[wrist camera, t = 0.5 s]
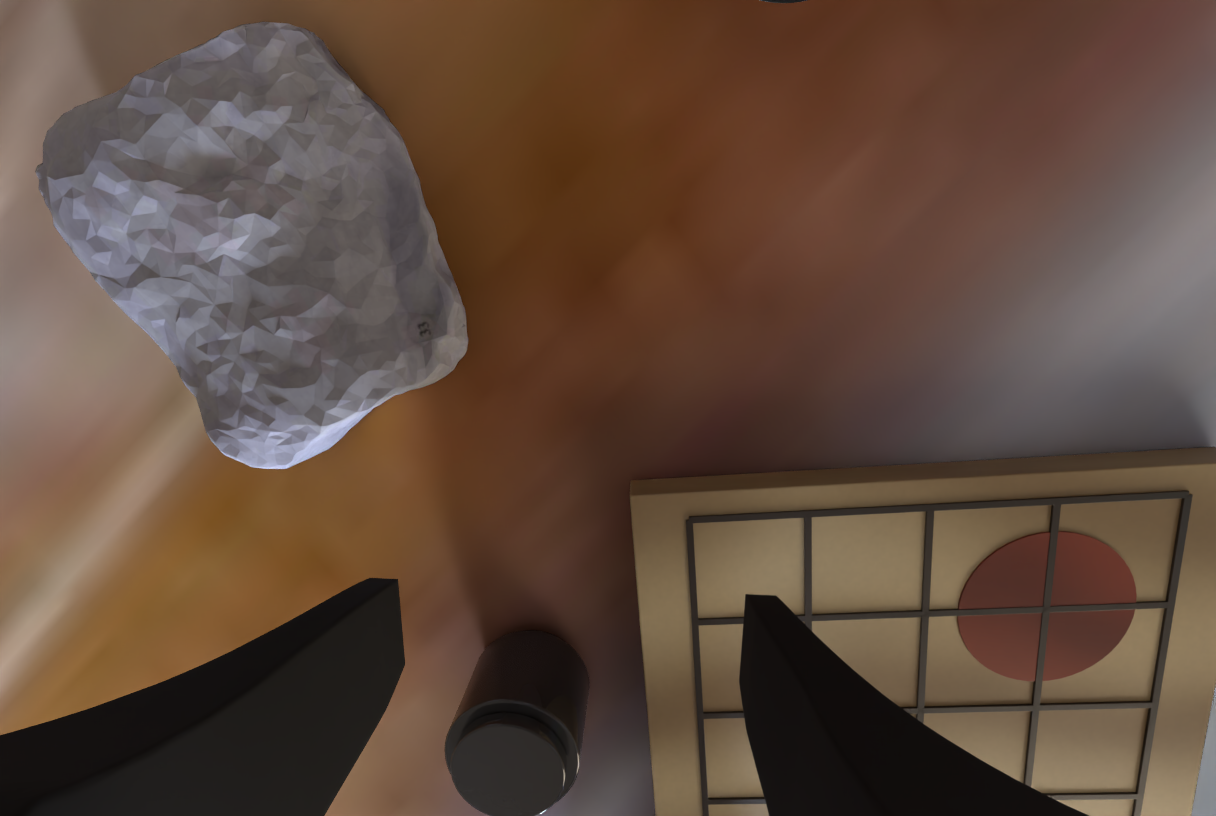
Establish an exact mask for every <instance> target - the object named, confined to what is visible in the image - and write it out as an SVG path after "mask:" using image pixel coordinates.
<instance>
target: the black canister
mask: <svg viewBox="0 0 1216 816" xmlns="http://www.w3.org/2000/svg"><path fill="white" fill-rule="evenodd" d="M589 689H590V680H589V675H588V671H587V668H586V666H585V664H584V662H583V660H582V659H581V657H580V656H579V654H578V653H577V652H576V651H575V650H574V649H573V648H572V647H571V646H570V645H569V644H567V643H566V642H565V641H563V640H562V639H560V638H559V637H557V636H555V635H553V634H550V633H547V632H543V631H537V630H526V631H518V632H513V633H510V634H507V635H504V636H502V637H500V638H498V639H497V640H495V641H494V642H492V643H491V644H490V645H489V646H488V647H487V648H486V649H485V650H484V651H483V653H482V654H481V656H480V658H479V660H478V662H477V664H476V667H475V669H474V672H473V674H472V676H471V679H470V681H469V683H468V686H467V688H466V691H465V693H464V695H463V698H462V700H461V703H460V705H459V707H458V710H457V712H456V714H455V717H454V719H453V722H452V724H451V726H450V729H449V731H448V734H447V736H446V741H445V759H446V763H447V767H448V769H449V772H450V774H451V776H452V780H453V782H454V785H455V787H456V789H457V790H458V792H459V793H460V795H461V796H462V797H463V798H464V799H465V800H466V801H467V802H468V803H469V804H470V805H471V806H473V807H474V808H476V809H477V810H479V811H481V812H483V813H485V814H487V815H490V816H536V815H539V814H541V813H543V812H544V811H546V810H547V809H549V808H550V807H551V806H552V805H553V804H554V803H556V802H557V801H559V800H560V799H561V798H562V797H564V796H565V794H566V793H567V792H568V791H569V790H570V788H571V787H572V785H573V784H574V782H575V780H576V778H577V775H578V771H579V765H580V758H581V750H582V743H583V735H584V727H585V720H586V712H587V704H588V697H589Z"/></svg>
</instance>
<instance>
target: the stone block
mask: <svg viewBox="0 0 1216 816" xmlns="http://www.w3.org/2000/svg"><path fill="white" fill-rule="evenodd" d="M35 172H36V174H37V176H38V179H39V190H40V192H41V194H42V195H43V197H44V200H45V203H46V205H47V206H48V208H49V210H50V211H51V213H52V216H53V223H54V226H55V228H56V229H57V230H58V232H59V233H60V234H61V236H62V237H63V238H64V240H65V241H66V242H67V244H68V245H69V246H70V248H71V249H72V251H73V253H74V254H75V255H76V256H77V257H78V259H79V260H80V261H81V262H82V263H83V264H84V265H85V267H86V268H87V269H88V270H89V271H90V273H91V274H92V276H93V278H94V279H95V281H96V282H97V283H98V284H99V285H100V286H101V287H102V288H103V289H104V290H105V291H106V292H107V293H108V295H109V296H110V297H111V298H112V300H113V301H114V302H115V303H116V304H117V305H118V306H119V307H120V308H121V309H122V310H123V311H124V312H125V313H126V314H127V315H128V316H129V317H130V318H131V319H132V320H133V321H134V322H135V323H137V324H138V325H139V326H140V327H141V328H142V329H143V330H144V331H145V332H146V333H148V335H149V336H150V337H151V338H152V339H153V340H154V341H155V342H156V343H157V344H158V345H159V346H160V348H161V349H162V350H163V351H164V352H165V353H166V355H167V356H168V357H169V358H170V360H171V361H172V362H173V363H174V365H175V366H176V368H177V370H178V373H179V375H180V377H181V379H182V381H183V382H184V384H185V386H186V387H187V388H188V389H189V390H190V391H191V392H192V393H193V395H194V396H195V397H196V398H197V402H198V405H199V408H200V412H201V415H202V419H203V423H204V426H205V430H206V433H207V434H208V436H209V438H210V440H211V441H212V442H213V443H214V444H215V445H216V447H217V448H218V449H219V450H220V451H221V452H222V453H223V454H224V455H226V456H228V457H230V458H233V459H235V460H237V461H240V462H242V463H244V464H246V465H249V466H251V467H255V468H264V469H286V468H289V467H291V466H293V465H295V464H298V463H300V462H302V461H304V460H307V459H309V458H311V457H313V456H315V455H317V454H319V453H321V452H323V451H326V450H328V449H329V448H330V447H332V446H333V445H334V444H336V443H337V442H338V441H339V440H340V439H341V438H342V437H343V436H344V435H345V434H346V433H347V432H348V430H349V429H351V428H352V427H353V426H354V425H356V424H357V423H358V422H359V421H360V420H361V419H362V418H363V417H364V416H365V415H366V414H368V413H369V412H370V411H371V410H372V409H373V408H374V407H377V406H379V405H380V404H382V403H383V402H385V401H386V400H388V399H390V398H391V397H393V396H394V395H398V394H402V393H404V392H407V391H409V390H413V389H418V388H422V387H425V386H427V385H430V384H433V383H435V382H437V381H438V380H440V379H442V378H444V377H445V376H447V375H448V374H449V373H450V372H452V371H453V370H454V369H455V367H456V365H457V363H458V362H459V360H460V359H461V358H462V357H463V356H464V355H465V353H466V351H467V346H468V336H467V324H466V313H465V307H464V306H463V304H462V300H461V297H460V294H459V291H458V289H457V287H456V284H455V282H454V279H453V275H452V273H451V271H450V269H449V267H448V264H447V262H446V259H445V256H444V254H443V251H442V249H441V247H440V245H439V242H438V235H437V232H436V227H435V224H434V221H433V218H432V217H431V215H430V214H429V212H428V209H427V207H426V205H425V202H424V198H423V194H422V190H421V186H420V180H419V177H418V175H417V173H416V171H415V169H414V166H413V164H412V162H411V159H410V157H409V154H408V151H407V148H406V146H405V143H404V141H403V139H402V137H401V135H400V133H399V132H398V130H397V129H396V128H395V127H394V125H393V124H392V123H391V122H390V119H389V118H388V117H387V115H386V114H385V111H384V110H383V109H382V108H381V107H380V106H379V105H378V104H376V103H375V102H374V101H373V100H372V99H371V98H369V97H368V96H367V95H366V94H365V93H364V92H362V91H361V90H360V89H359V88H358V87H357V85H356V84H355V83H354V82H353V81H352V80H351V79H350V77H349V75H348V74H347V73H346V72H345V70H344V69H343V68H342V67H341V65H340V64H339V63H338V62H337V61H336V60H335V58H334V57H333V56H332V55H331V53H330V51H329V50H328V48H327V47H326V45H325V43H324V41H323V40H321V39H320V38H319V37H317V36H316V35H315V34H314V33H313V32H310V31H308V30H307V29H305V28H300V27H296V26H293V25H291V24H288V23H273V22H259V23H253V24H243V25H239V26H237V27H235V28H233V29H232V30H227V31H224V32H222V33H221V34H219V35H218V36H217V37H216V38H213V39H210V40H209V41H207V42H206V43H205V44H201V45H199V46H197V47H195V48H193V49H190V50H188V51H186V52H183V53H181V54H178V55H176V56H174V57H172V58H170V59H168V60H166V61H164V62H162V63H160V64H158V65H156V66H154V67H152V68H151V69H149V70H147V71H145V72H143V73H140V74H137V75H135V76H134V77H133V78H132V79H131V81H130V82H129V83H128V84H127V85H126V86H124V87H123V88H122V89H120V90H119V91H117V92H116V93H112V94H109V95H106V96H103V97H101V98H98V99H95V100H92V101H89V102H87V103H85V104H82V105H79V106H77V107H75V108H73V109H72V110H70V111H68V112H66V113H65V114H63V115H62V116H61V117H60V118H59V119H58V120H57V121H56V123H55V124H54V125H53V126H52V127H51V128H50V129H49V130H48V131H47V134H46V137H45V140H44V142H43V163H42V164H40V165H38V166H37V168H36V171H35Z"/></svg>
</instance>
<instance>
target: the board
mask: <svg viewBox="0 0 1216 816" xmlns="http://www.w3.org/2000/svg"><path fill="white" fill-rule="evenodd" d="M629 497H630V510H631V522H632V534H633V546H634V558H635V571H636V583H637V595H638V607H639V619H640V632H641V644H642V656H643V668H644V681H645V693H646V705H647V717H648V729H649V742H650V754H651V766H652V778H653V790H654V803H655V815H656V816H769V813H768V809H767V806H766V802H765V798H764V795H763V791H762V787H761V784H760V780H759V776H758V773H757V769H756V765H755V762H754V758H753V754H752V750H751V747H750V743H749V739H748V735H747V731H746V726H745V719H744V713H743V706H742V699H741V692H740V685H739V675H740V661H741V648H742V635H743V621H744V608H745V594H754V595H776V596H777V597H778V598H779V599H780V600H781V601H782V602H783V603H784V604H785V605H786V606H787V607H788V608H789V609H790V610H791V611H792V612H793V613H794V614H795V615H796V616H797V617H798V618H799V619H800V620H801V621H802V622H803V623H804V624H805V625H806V626H807V627H808V628H809V629H810V630H811V631H812V632H813V633H814V634H815V635H816V636H817V637H818V638H819V639H820V640H821V641H822V642H823V643H825V644H826V645H827V646H828V647H829V648H830V649H831V650H832V651H833V652H834V653H835V654H836V655H837V656H838V657H840V658H841V659H842V660H843V661H844V662H845V663H846V664H847V665H849V666H850V667H851V668H852V669H853V670H854V671H855V672H857V673H858V674H859V675H860V676H861V677H863V678H864V679H865V680H866V681H867V682H869V683H870V684H871V685H872V686H873V687H875V688H876V689H877V690H878V691H880V692H881V693H882V694H883V695H885V696H886V697H887V698H889V699H890V700H891V701H892V702H894V703H895V704H897V705H898V706H899V707H901V708H902V709H904V710H905V711H906V712H908V713H909V714H911V715H912V716H913V717H915V718H916V719H918V720H919V721H920V722H922V723H923V724H925V725H926V726H927V727H929V728H931V729H932V730H934V731H935V732H937V733H938V734H940V735H941V736H943V737H944V738H946V739H947V740H949V741H951V742H952V743H954V744H956V745H957V746H959V747H961V748H962V749H964V750H965V751H967V752H969V753H970V754H972V755H974V756H975V757H977V758H979V759H980V760H982V761H984V762H985V763H987V764H989V765H991V766H992V767H994V768H996V769H998V770H1000V771H1001V772H1003V773H1005V774H1007V775H1009V776H1010V777H1012V778H1014V779H1016V780H1018V781H1020V782H1022V783H1024V784H1026V785H1028V786H1029V787H1031V788H1033V789H1035V790H1037V791H1039V792H1041V793H1043V794H1045V795H1047V796H1049V797H1051V798H1053V799H1055V800H1057V801H1059V802H1061V803H1063V804H1065V805H1067V806H1069V807H1071V808H1073V809H1076V810H1078V811H1080V812H1082V813H1085V814H1087V815H1089V816H1191V812H1192V807H1193V802H1194V796H1195V791H1196V786H1197V780H1198V775H1199V770H1200V764H1201V759H1202V754H1203V748H1204V743H1205V738H1206V732H1207V727H1208V722H1209V716H1210V711H1211V706H1212V701H1213V695H1214V690H1215V685H1216V447H1202V448H1184V449H1167V450H1150V451H1132V452H1115V453H1098V454H1080V455H1063V456H1046V457H1028V458H1011V459H993V460H976V461H959V462H941V463H924V464H907V465H889V466H872V467H855V468H837V469H820V470H802V471H785V472H768V473H750V474H733V475H716V476H698V477H681V478H664V479H646V480H632V481H631V482H630V496H629Z"/></svg>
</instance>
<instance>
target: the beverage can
mask: <svg viewBox="0 0 1216 816" xmlns="http://www.w3.org/2000/svg"><path fill="white" fill-rule="evenodd" d="M761 1H766V2H773V3H794V2H801V1H806V0H761Z"/></svg>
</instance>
